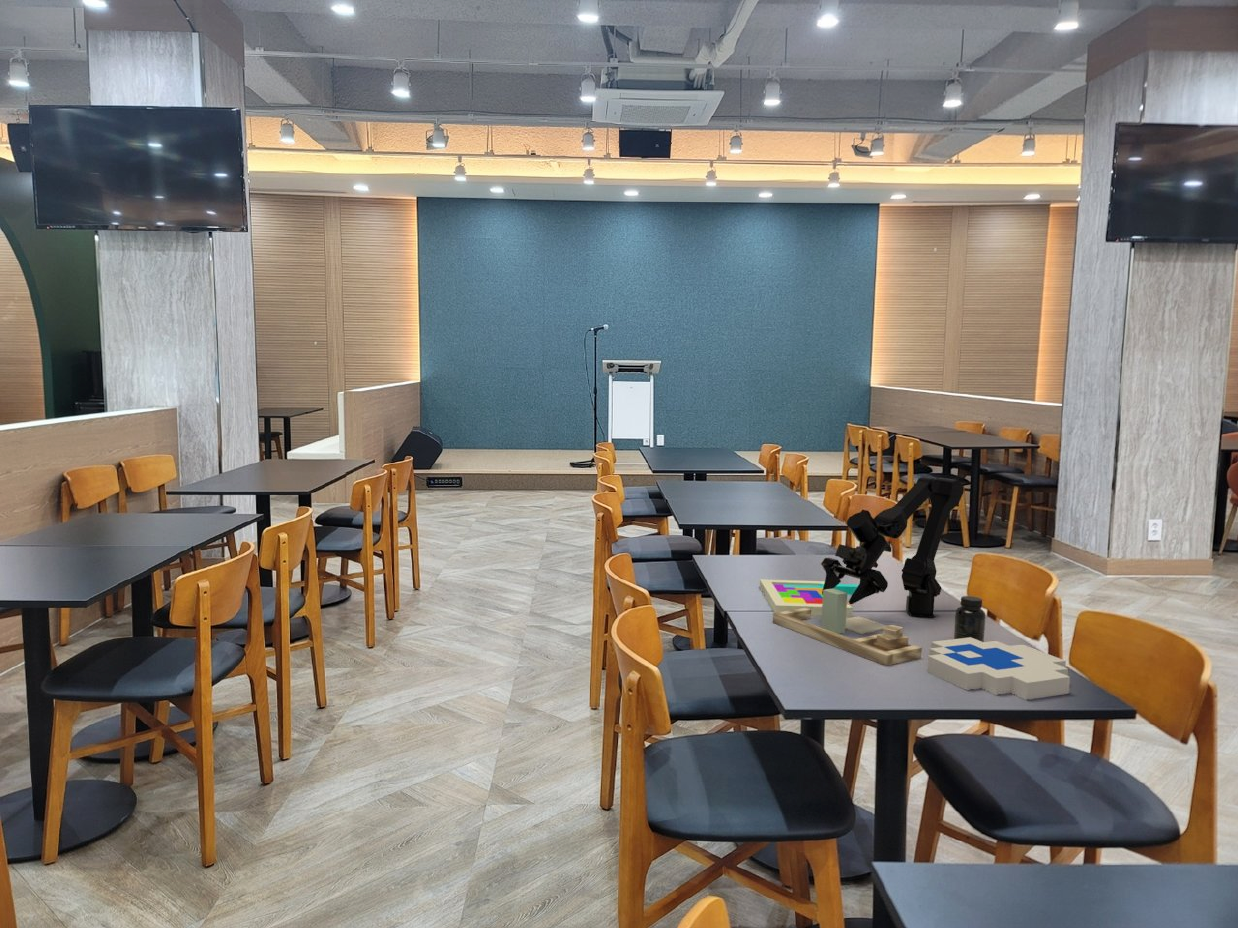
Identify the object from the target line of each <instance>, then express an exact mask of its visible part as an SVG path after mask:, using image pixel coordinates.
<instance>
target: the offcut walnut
mask: <svg viewBox="0 0 1238 928" xmlns="http://www.w3.org/2000/svg"><path fill="white" fill-rule="evenodd" d="M909 646H912V645H911V644H910V643H908V646H901V647H893V648H886V647H884V646H882V645H880V644H878V643H874V647H875V648H878V649H880V650H883V651H891V650H895V649H900V648H904V647H909Z"/></svg>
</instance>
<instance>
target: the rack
mask: <svg viewBox="0 0 1238 928" xmlns="http://www.w3.org/2000/svg"><path fill="white" fill-rule="evenodd" d="M808 619H812V616H811V609H808V608H801V609H795V610H789V611H783V612H777V613H774V612H773V613H772V623H773V624H776V625H778V626H781V627H784V628H786V629H788V630H791V631H794V632H797V633H799V634H802V635H805V636H807V637H810V638H812V639H816V640H818V641H820V642H822V643H826V644H828V645H830V646H833V647H834V648H835V647H836V648H838V649H841V650H843V649H844V650H843V651H846V652H848V651H849V653H851V652H852V653H851V654H853V655H856V654H857V655H856V656H859V655H860V656H859V657H861V656H862V658H864V657H865V658H864V659H867V658H868V659H867V660H869V659H870V661H872V662H875V663H877V662H878V663H877V664H880V665H882V664H883V666H885V667H889V666H892V664H893V665H896V663H897V664H900V663H901V664H902V663H905V661H906V662H909V660H910V661H913V660H917V659H921V658H922V647H921V646H918V645H916V644H913V645H911V646H909V647H904V648H900V649H895V650H891V651H883V650H880V649H878V648H875V647H874V643H877V635H880V634H881V633H879V634H878V633H877V634H873V635H869V636H864V637H860V638H859V637H858V638H853V639H852V638H850V637H847V636H845V635H842V634H837V633H834V632H831V631H829V630H826V629H823V628H821V627H820V626H817V625H815V624H812V623H810V622H807V621H804V620H808Z"/></svg>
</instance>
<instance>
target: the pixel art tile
mask: <svg viewBox="0 0 1238 928" xmlns="http://www.w3.org/2000/svg"><path fill="white" fill-rule="evenodd" d="M1066 661H1067V660H1064V659H1062V658H1060V657H1057V656H1054V655H1051V654H1049V653H1046V652H1044V651H1041V650H1039V649H1035V648H1033V647H1030V646H1028V645H1025V644H1013V645H1008V644H1006V643H1003V642H1001V641H999V640H994V641H993V640H992V641H984V642H981V641H979V640H976V639H974V638H971V637H969V638H960V639H954V638H952V639H944V640H936V641H935V640H934V641H931V643H930V648H929V654H928V655H927V665H926V666H927V669H926V671H928V673H929V674H931V675H933V674H934V676H936V677H938V678H939V679H942V678H943V679H942V680H944V679H945V681H946V682H947V683H950V684H952V685H954V684H955V685H954V686H957V687H958V686H959V687H958V688H960V687H961V689H962V688H964V689H963V690H965V689H966V690H965V691H971V690H970V689H974V690H979V688H982V690H984V689H985V690H984V691H986V690H987V691H986V692H988V691H989V692H988V693H990V692H991V694H992V693H993V694H992V695H994V694H995V696H998V694H1001V695H1005V694H1006V693H1007V694H1011V693H1012V695H1014V694H1015V695H1014V696H1016V695H1017V696H1016V697H1018V696H1019V697H1018V698H1020V697H1022V698H1024V699H1023V700H1025V699H1029V700H1035V698H1036V699H1042V698H1048V697H1055V696H1060V695H1067V694H1069V693H1070V683H1071V676H1069V675H1068V671H1069V669H1068V668H1067V667H1066V663H1067V662H1066ZM1022 698H1021V699H1022Z"/></svg>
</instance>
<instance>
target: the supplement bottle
mask: <svg viewBox="0 0 1238 928" xmlns="http://www.w3.org/2000/svg"><path fill="white" fill-rule="evenodd" d="M960 605H961V606H959V607H958V608H956V610H955V615H954V617H955V619H954V629H953V630H954V631H953V639H960V638H969V637H971V638H974V639H976V640H979V641H981V642H985V629H986V618H987V616H986V612H985V611H984V610H983V609H982V608H983V599H982V598H981V597H977V596H972V595H971V596H970V595H965V596H961V598H960Z"/></svg>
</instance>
